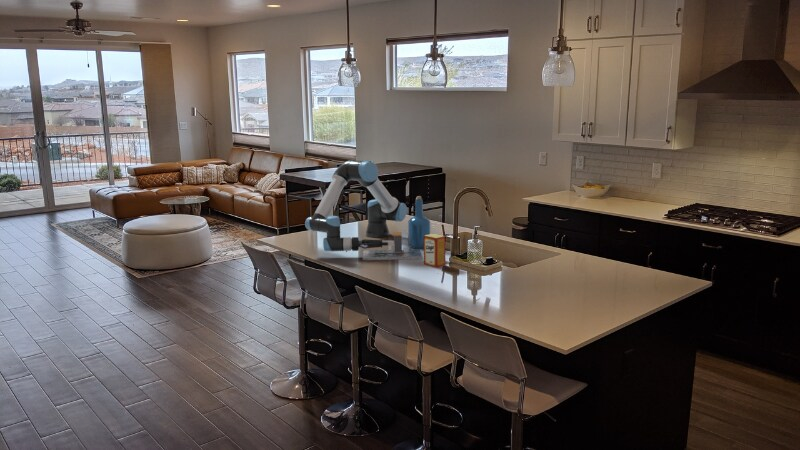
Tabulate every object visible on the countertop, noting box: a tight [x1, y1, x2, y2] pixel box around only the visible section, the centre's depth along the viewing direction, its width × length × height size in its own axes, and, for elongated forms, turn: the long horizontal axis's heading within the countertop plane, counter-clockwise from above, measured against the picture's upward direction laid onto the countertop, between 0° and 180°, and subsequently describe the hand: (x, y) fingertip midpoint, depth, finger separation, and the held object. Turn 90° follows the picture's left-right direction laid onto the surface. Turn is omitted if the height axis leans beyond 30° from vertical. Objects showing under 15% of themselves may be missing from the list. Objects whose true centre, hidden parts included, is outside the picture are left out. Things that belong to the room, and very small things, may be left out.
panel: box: [362, 248, 422, 261], centre depth 355 cm, size 16×32×2 cm, turn 92°
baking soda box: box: [423, 233, 446, 268], centre depth 334 cm, size 10×6×16 cm
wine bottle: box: [407, 195, 432, 250], centre depth 374 cm, size 14×13×30 cm
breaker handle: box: [392, 231, 405, 253], centre depth 354 cm, size 4×6×11 cm
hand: (394, 243), depth 354 cm, fingers closed
